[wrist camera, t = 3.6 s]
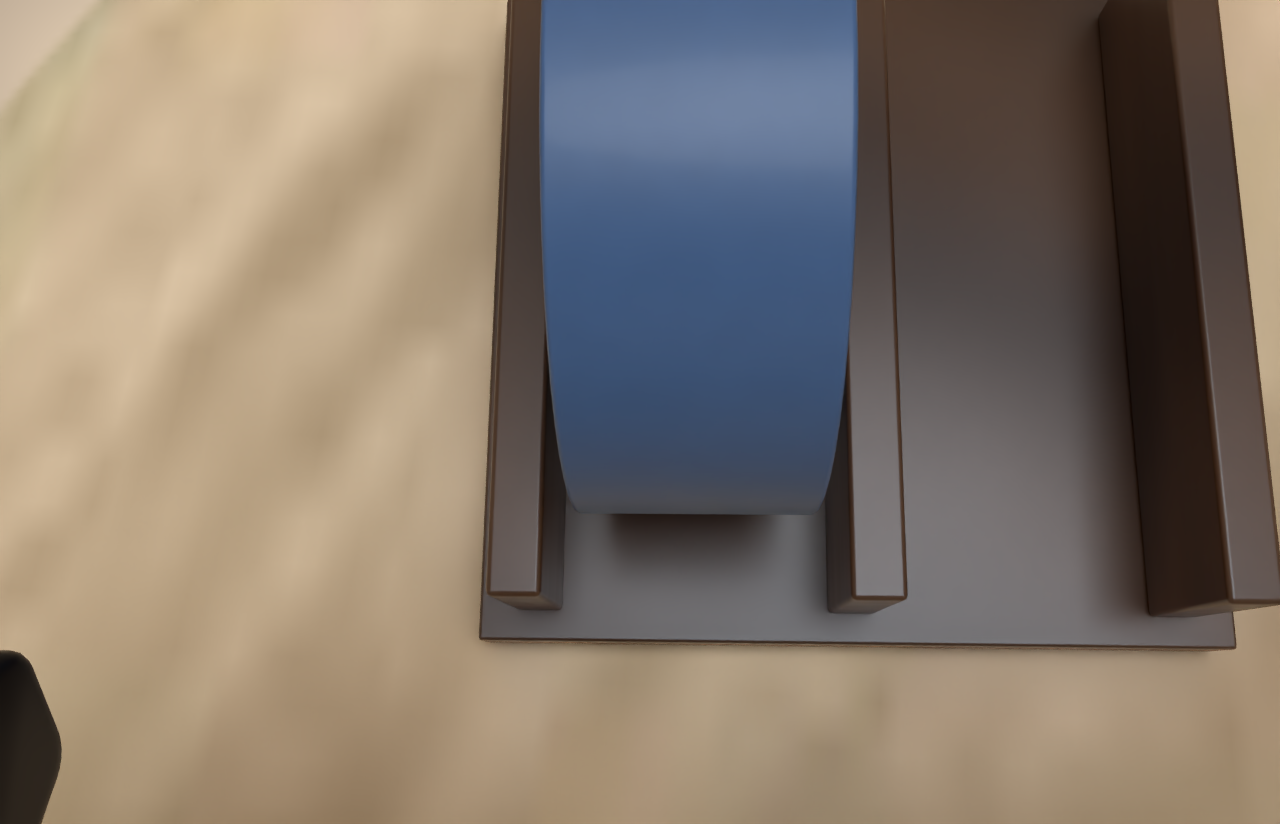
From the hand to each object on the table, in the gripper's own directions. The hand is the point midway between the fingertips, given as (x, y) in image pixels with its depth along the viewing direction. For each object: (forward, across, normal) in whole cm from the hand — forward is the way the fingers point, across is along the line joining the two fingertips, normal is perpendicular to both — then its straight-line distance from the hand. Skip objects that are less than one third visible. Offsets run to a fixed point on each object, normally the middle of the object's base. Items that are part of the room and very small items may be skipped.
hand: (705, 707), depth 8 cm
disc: (+13, 0, +4) cm, 14 cm away
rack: (+14, -2, +4) cm, 15 cm away
